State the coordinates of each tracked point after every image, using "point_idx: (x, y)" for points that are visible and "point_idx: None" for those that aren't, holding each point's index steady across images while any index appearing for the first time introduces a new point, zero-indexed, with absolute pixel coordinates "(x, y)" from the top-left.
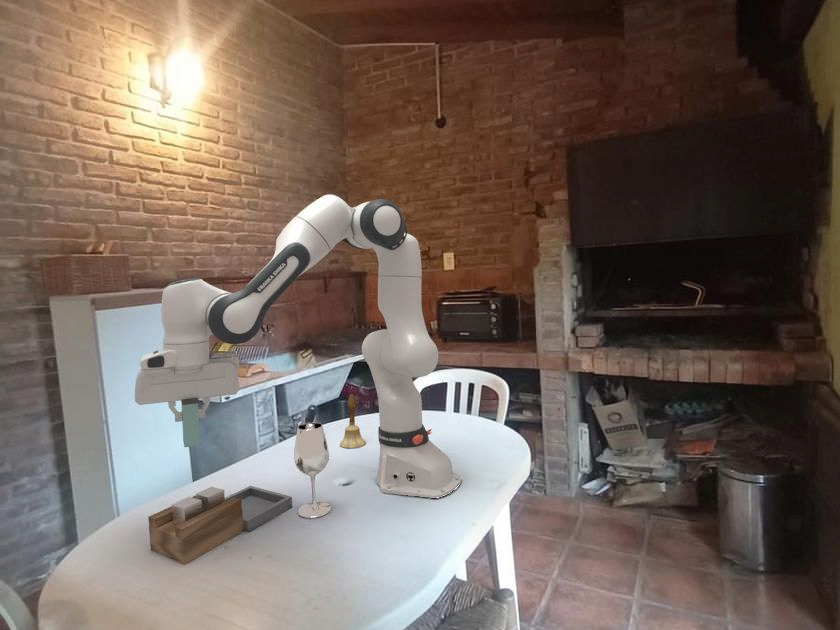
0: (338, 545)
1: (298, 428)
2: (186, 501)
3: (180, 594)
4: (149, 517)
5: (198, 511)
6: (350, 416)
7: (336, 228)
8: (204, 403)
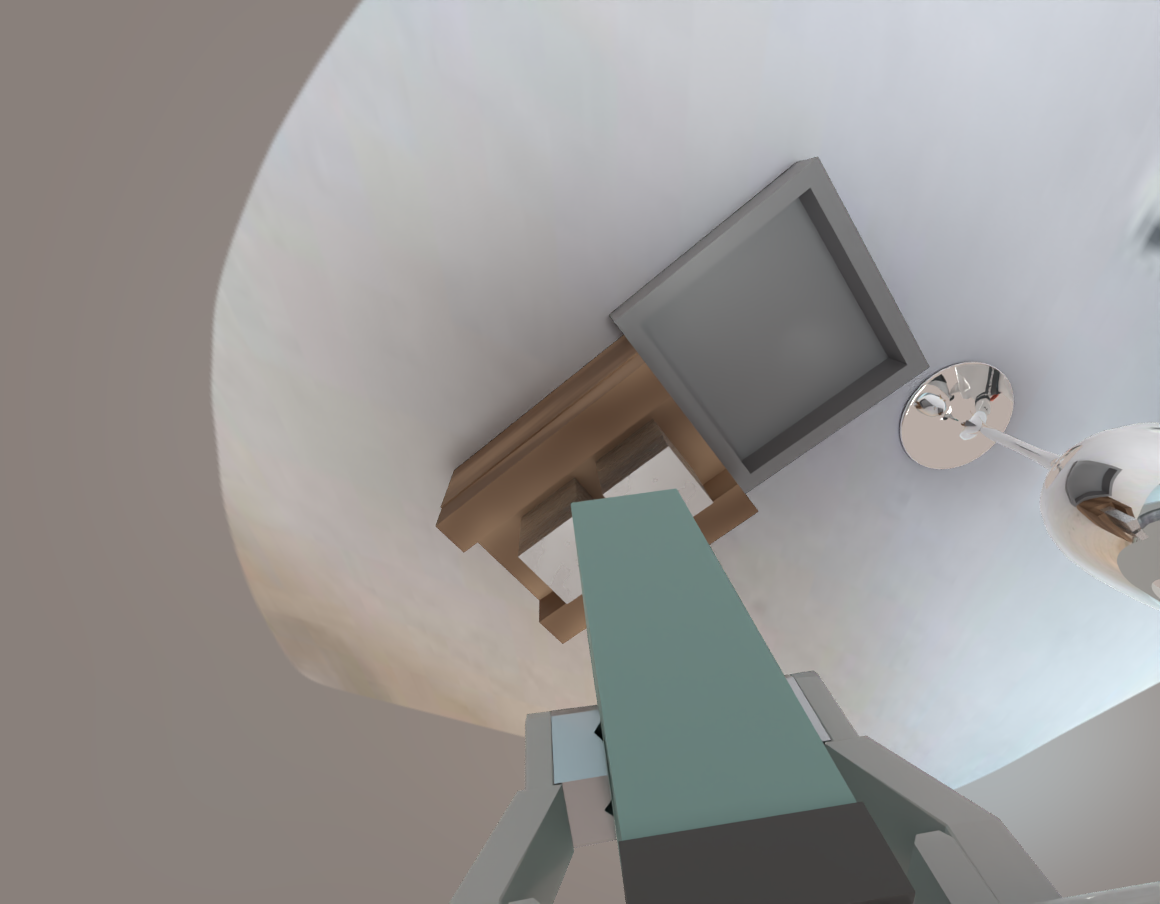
0: (919, 619)
1: None
2: (570, 551)
3: (560, 678)
4: (440, 530)
5: None
6: None
7: None
8: (903, 822)
